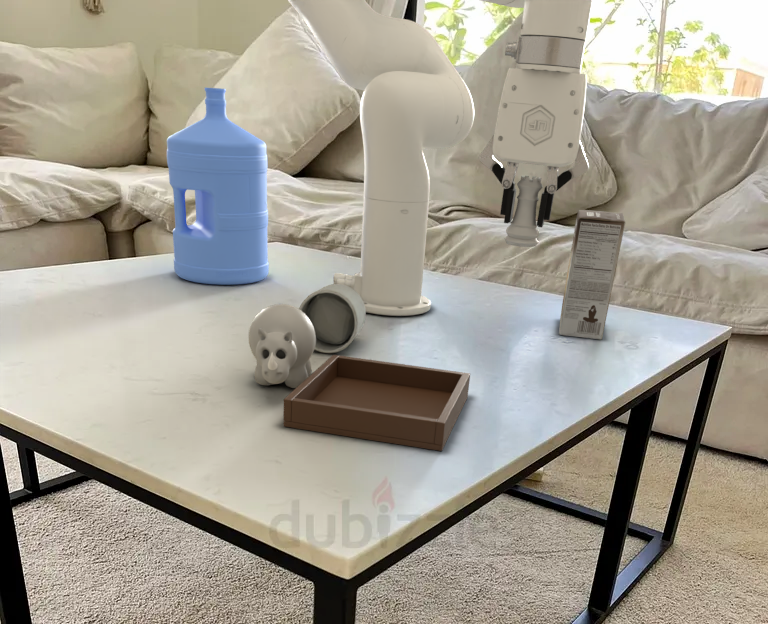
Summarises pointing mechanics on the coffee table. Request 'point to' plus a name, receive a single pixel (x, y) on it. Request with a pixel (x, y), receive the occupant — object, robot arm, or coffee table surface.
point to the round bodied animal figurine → (282, 345)
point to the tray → (379, 402)
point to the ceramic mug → (334, 316)
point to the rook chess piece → (525, 214)
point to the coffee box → (591, 273)
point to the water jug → (219, 199)
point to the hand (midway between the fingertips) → (524, 222)
